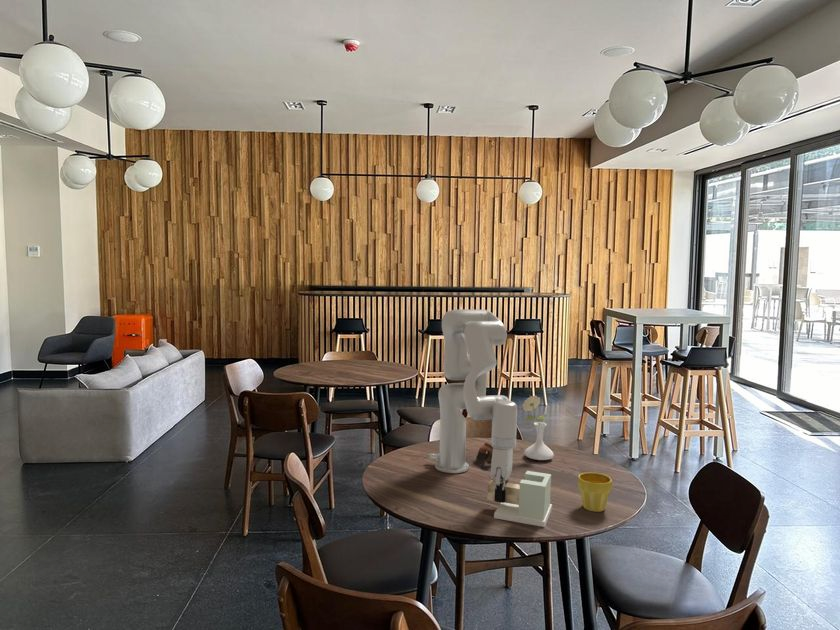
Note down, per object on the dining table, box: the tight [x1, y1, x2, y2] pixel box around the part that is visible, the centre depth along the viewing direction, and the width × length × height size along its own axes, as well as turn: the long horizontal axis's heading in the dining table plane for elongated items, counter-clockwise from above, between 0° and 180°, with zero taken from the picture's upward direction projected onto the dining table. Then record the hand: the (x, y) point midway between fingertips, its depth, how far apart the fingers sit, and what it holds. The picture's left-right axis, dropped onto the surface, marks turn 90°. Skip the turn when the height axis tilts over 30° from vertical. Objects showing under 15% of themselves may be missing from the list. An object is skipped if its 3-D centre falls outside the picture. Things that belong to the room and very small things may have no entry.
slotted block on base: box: [493, 470, 553, 528], centre depth 183 cm, size 15×14×12 cm
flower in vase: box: [521, 395, 555, 461], centre depth 235 cm, size 13×11×25 cm
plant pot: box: [577, 471, 613, 513], centre depth 188 cm, size 10×10×10 cm
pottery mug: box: [475, 442, 493, 466], centre depth 229 cm, size 12×10×8 cm
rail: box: [486, 479, 520, 505], centre depth 184 cm, size 16×4×6 cm, turn 69°
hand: (501, 498), depth 185 cm, fingers closed on rail, 3 cm apart
